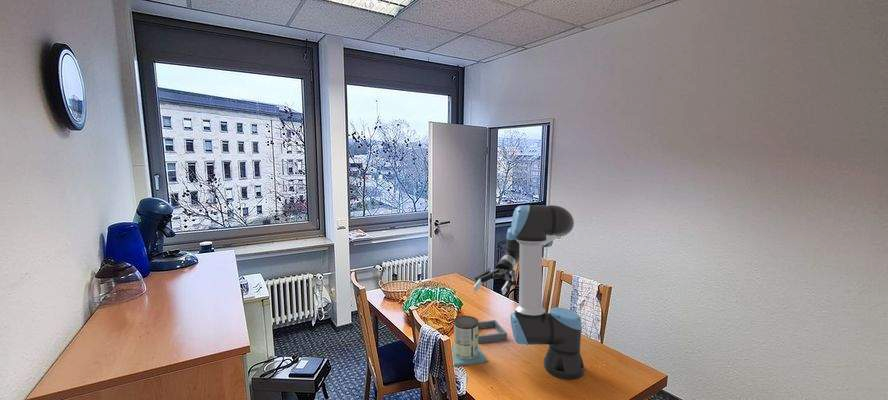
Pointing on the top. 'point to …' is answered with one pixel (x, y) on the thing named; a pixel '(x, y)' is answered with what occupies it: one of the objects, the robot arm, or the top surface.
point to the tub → (491, 337)
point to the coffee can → (466, 337)
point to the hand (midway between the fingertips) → (488, 290)
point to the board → (478, 359)
